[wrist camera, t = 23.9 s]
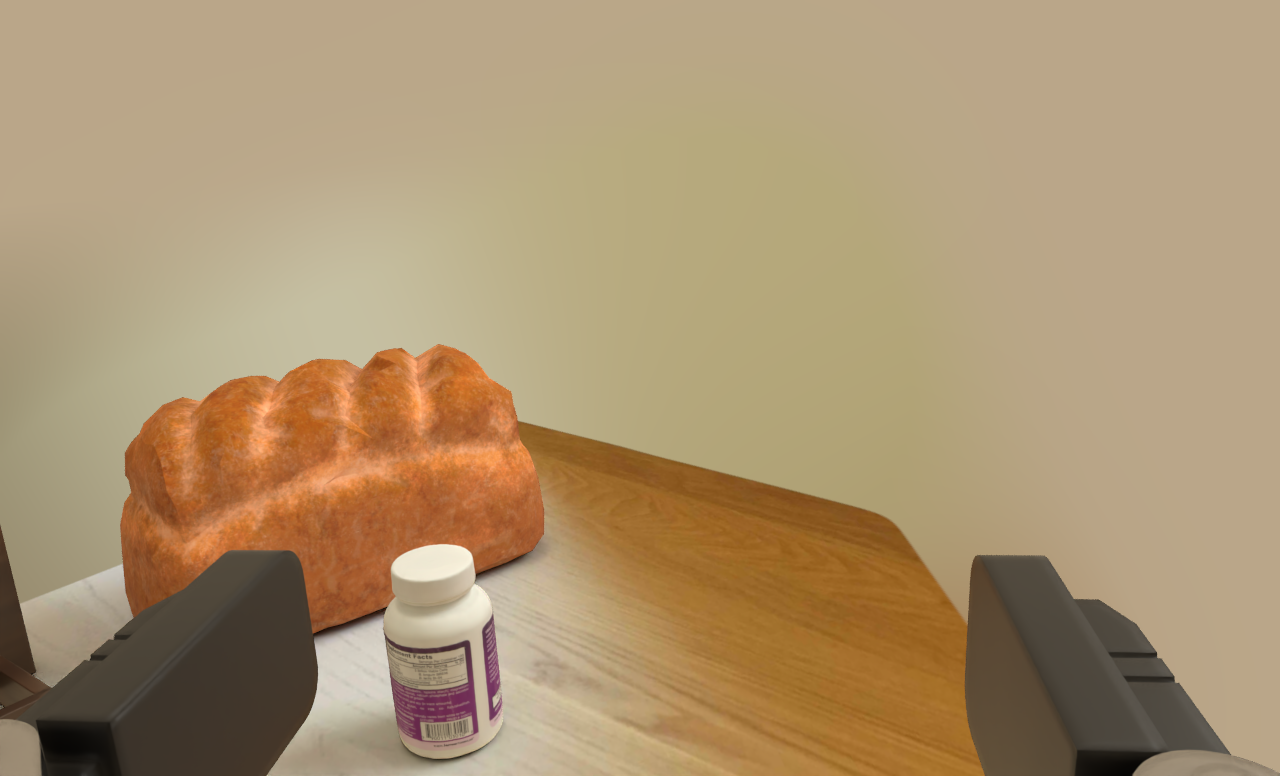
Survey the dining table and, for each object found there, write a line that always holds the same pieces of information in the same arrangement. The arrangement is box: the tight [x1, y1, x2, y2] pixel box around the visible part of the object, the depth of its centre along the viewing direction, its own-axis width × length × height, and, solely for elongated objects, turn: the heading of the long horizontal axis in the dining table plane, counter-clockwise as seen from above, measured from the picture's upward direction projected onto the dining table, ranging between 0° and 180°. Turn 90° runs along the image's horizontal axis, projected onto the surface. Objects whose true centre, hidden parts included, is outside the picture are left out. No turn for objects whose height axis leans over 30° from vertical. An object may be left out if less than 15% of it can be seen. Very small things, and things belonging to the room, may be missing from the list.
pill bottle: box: [383, 544, 503, 759], centre depth 50 cm, size 5×5×10 cm
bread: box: [120, 344, 544, 633], centre depth 66 cm, size 14×26×16 cm, turn 129°
